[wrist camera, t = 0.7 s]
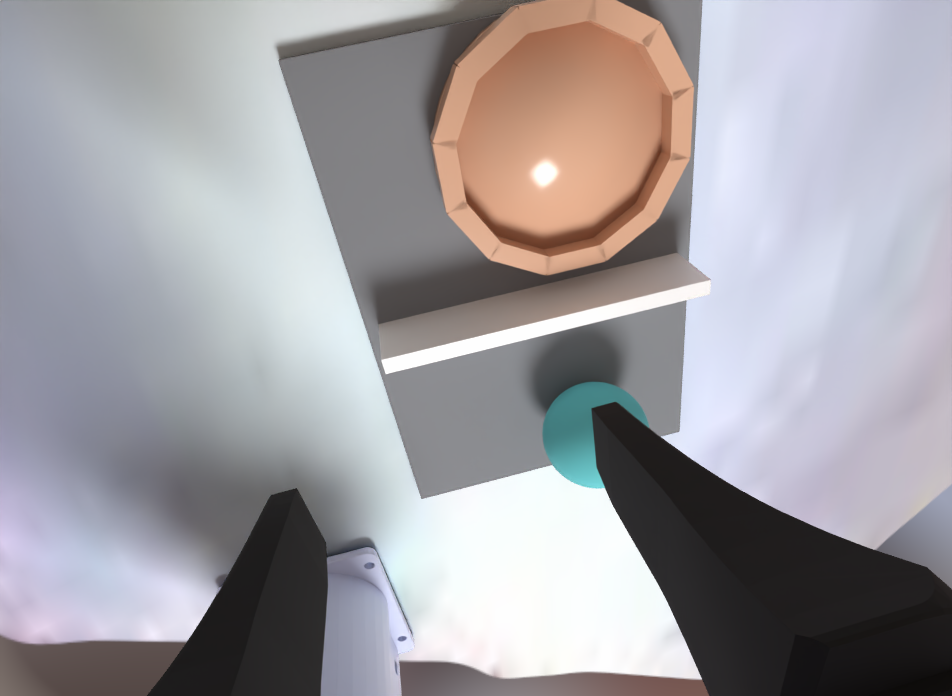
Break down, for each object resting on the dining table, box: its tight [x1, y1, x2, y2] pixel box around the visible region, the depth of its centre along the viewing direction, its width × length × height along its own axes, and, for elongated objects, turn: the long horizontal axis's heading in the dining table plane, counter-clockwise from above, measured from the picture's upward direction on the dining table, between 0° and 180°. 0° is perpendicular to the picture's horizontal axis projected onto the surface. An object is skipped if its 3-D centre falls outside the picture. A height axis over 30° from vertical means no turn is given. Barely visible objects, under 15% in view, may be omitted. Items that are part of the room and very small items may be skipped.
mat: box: [279, 0, 702, 499], centre depth 22 cm, size 19×13×1 cm
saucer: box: [430, 0, 694, 276], centre depth 18 cm, size 8×8×1 cm
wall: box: [378, 253, 711, 374], centre depth 21 cm, size 1×12×2 cm, turn 99°
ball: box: [542, 382, 649, 488], centre depth 23 cm, size 4×4×4 cm
